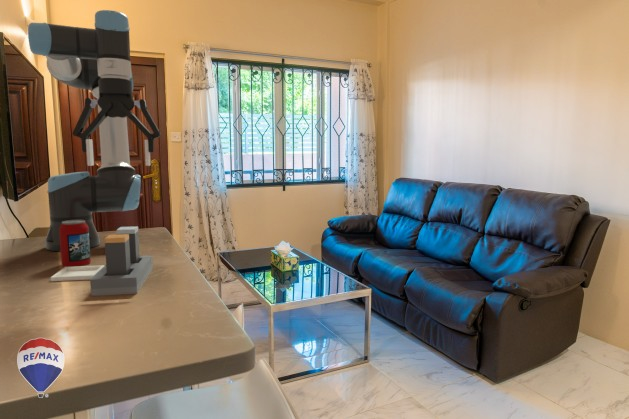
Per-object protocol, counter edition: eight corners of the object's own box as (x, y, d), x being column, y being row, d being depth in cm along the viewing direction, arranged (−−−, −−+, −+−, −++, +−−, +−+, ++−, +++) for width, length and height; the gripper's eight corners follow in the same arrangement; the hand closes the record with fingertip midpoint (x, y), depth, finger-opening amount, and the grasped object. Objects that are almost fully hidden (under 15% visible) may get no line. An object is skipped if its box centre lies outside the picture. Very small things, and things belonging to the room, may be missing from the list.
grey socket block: (115, 272, 111) (114, 256, 110) (153, 270, 112) (152, 255, 112) (91, 298, 91) (90, 279, 91) (137, 295, 93) (136, 277, 92)
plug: (112, 278, 98) (109, 234, 97) (131, 277, 99) (128, 234, 97) (107, 284, 94) (104, 238, 93) (127, 283, 95) (124, 237, 94)
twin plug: (122, 267, 108) (120, 226, 106) (140, 266, 109) (138, 226, 107) (118, 271, 104) (116, 229, 103) (136, 270, 105) (134, 229, 103)
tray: (65, 272, 110) (65, 266, 110) (104, 271, 112) (104, 265, 111) (50, 283, 101) (50, 277, 101) (94, 281, 103) (93, 275, 102)
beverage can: (78, 270, 112) (75, 223, 111) (55, 268, 114) (52, 222, 112) (96, 263, 119) (93, 219, 117) (74, 262, 120) (71, 218, 118)
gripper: (53, 74, 102) (60, 166, 105) (166, 78, 107) (169, 166, 110) (65, 79, 109) (71, 165, 112) (170, 82, 114) (173, 164, 117)
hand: (119, 165), depth 111 cm, fingers open, 13 cm apart
